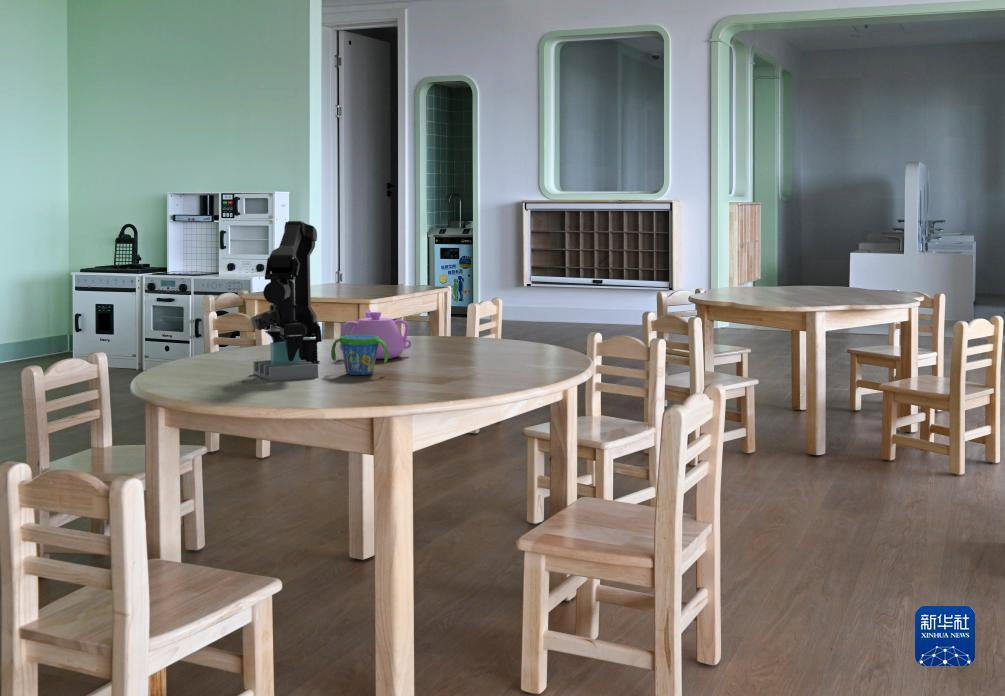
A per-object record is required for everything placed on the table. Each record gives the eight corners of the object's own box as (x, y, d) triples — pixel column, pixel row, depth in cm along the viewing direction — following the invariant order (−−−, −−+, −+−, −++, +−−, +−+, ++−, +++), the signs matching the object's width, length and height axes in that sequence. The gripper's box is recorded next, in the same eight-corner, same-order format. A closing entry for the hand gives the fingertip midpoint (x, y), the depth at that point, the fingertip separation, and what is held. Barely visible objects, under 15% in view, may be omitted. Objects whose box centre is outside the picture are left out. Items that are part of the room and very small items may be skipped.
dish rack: (299, 370, 301) (299, 358, 301) (318, 377, 288) (318, 364, 288) (253, 374, 295) (253, 361, 294) (270, 381, 282) (270, 367, 282)
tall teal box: (296, 370, 294) (295, 341, 293) (299, 371, 292) (298, 342, 291) (270, 372, 291) (270, 342, 290) (273, 373, 289) (273, 343, 288)
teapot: (401, 351, 345) (401, 307, 343) (418, 359, 324) (417, 313, 323) (332, 353, 338) (331, 309, 336) (345, 362, 317) (344, 315, 316)
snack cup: (394, 372, 297) (393, 335, 296) (378, 378, 287) (378, 339, 286) (342, 370, 302) (341, 333, 301) (325, 375, 292) (324, 337, 291)
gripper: (243, 299, 293) (245, 357, 295) (265, 304, 277) (266, 365, 279) (283, 298, 299) (284, 354, 301) (306, 302, 283) (308, 362, 285)
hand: (285, 359), depth 291 cm, fingers open, 9 cm apart
